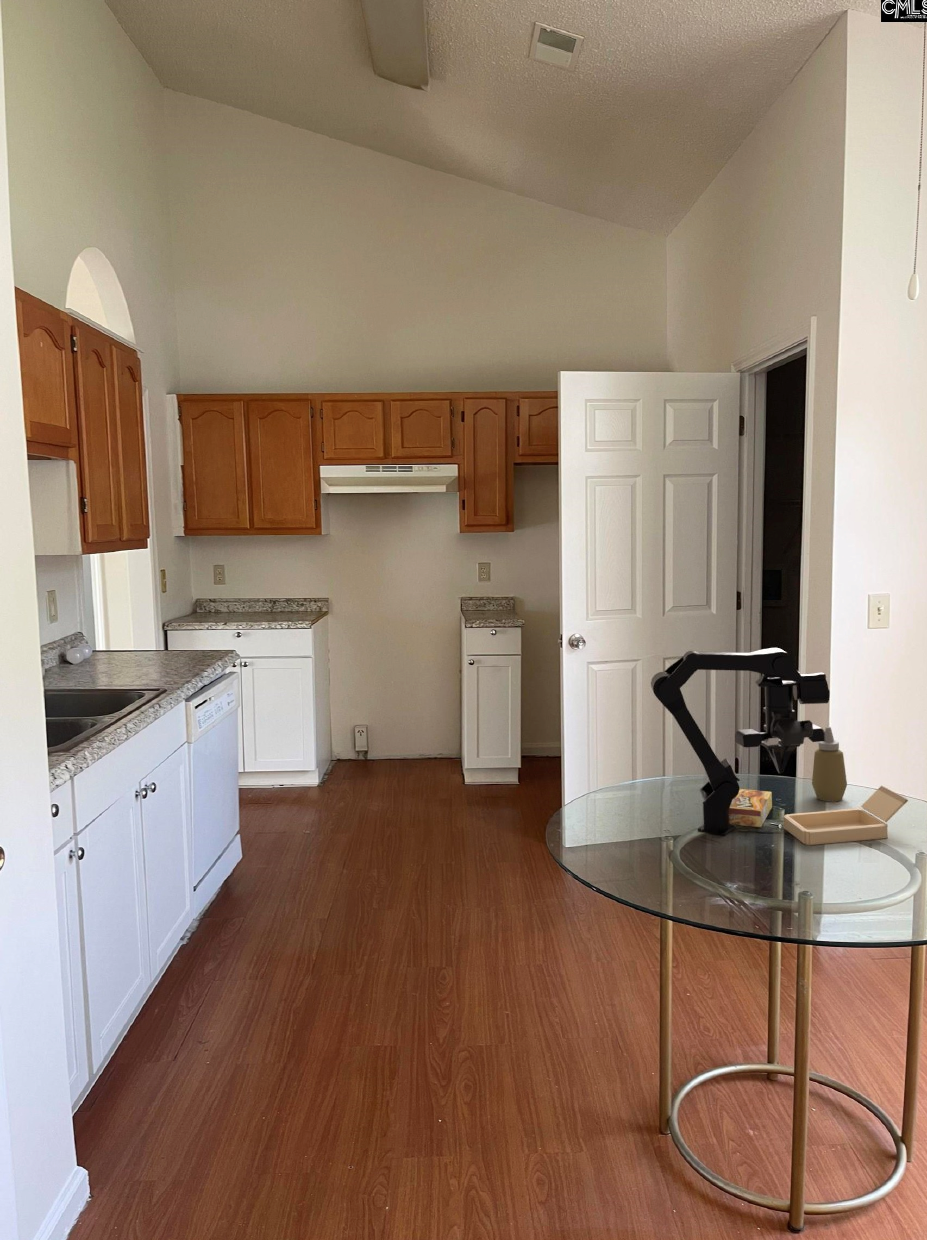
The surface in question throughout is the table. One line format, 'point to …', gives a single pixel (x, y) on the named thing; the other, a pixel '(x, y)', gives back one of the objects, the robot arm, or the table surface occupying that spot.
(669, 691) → the robot arm
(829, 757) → the squeeze bottle
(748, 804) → the candy box
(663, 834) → the table surface
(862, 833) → the carton
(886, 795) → the flap
